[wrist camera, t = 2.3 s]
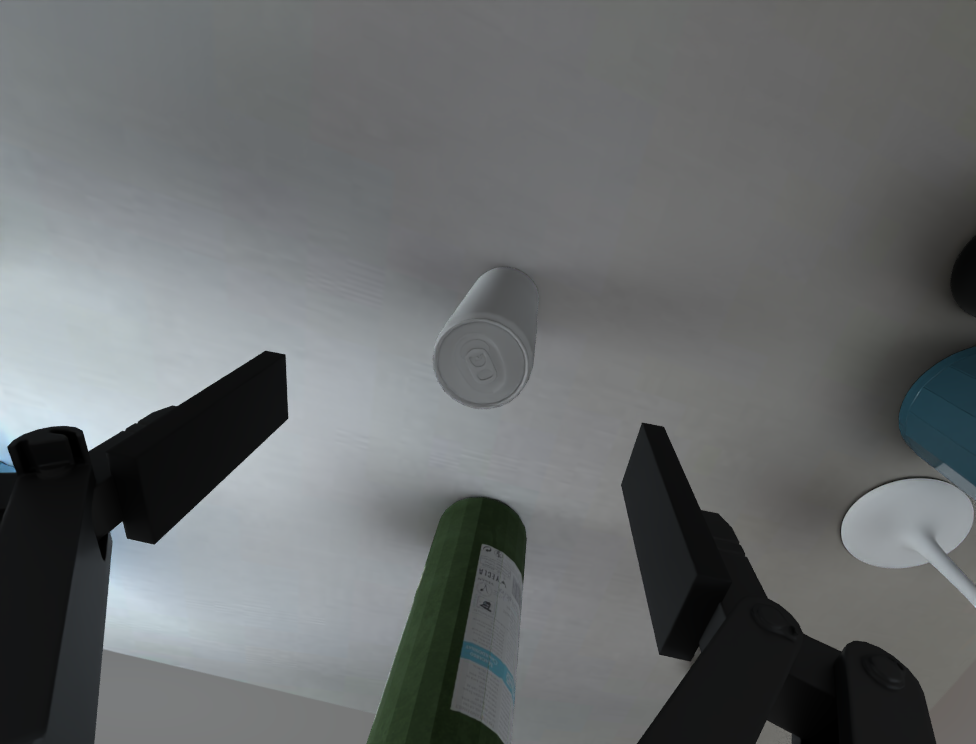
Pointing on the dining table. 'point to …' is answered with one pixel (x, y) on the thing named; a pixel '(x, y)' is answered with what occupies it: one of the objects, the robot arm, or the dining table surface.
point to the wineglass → (911, 527)
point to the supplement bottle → (965, 278)
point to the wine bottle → (460, 634)
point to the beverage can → (489, 340)
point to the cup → (945, 418)
